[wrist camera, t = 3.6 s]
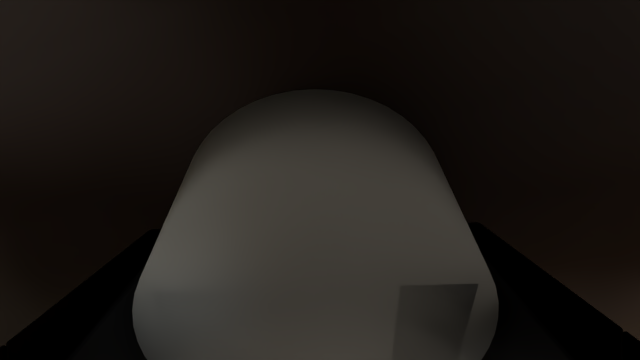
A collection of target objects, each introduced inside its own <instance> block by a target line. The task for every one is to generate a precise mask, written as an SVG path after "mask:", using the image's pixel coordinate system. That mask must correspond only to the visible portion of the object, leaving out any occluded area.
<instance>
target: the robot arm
mask: <svg viewBox="0 0 640 360" xmlns="http://www.w3.org/2000/svg"><path fill="white" fill-rule="evenodd" d="M467 224H468V226H469V228H470V230H471V232H472V235H473V237H474V239H475V241H476V243H477V245H478V247H479V250H480V252H481V254H482V256H483V258H484V260H485V262H486V264H487V267H488V269H489V271H490V273H491V276H492V278H493V281H494V283H495V286H496V291H497V296H498V301H499V309H498V322H497V326H496V331H495V334H494V337H493V339H492V342H491V344H490V346H489V348H488V350H487V352H486V353H485V355H484V356H483V358H482V360H640V341H639V340H637V339H636V338H635V337H633V336H632V335H631V334H629V333H628V332H626V331H625V332H623V329H622V328H621V327H620V326H618V325H617V324H616V323H614V322H613V321H612V320H610V319H609V318H608V317H606V316H605V315H603V314H602V313H601V312H599V311H598V310H597V309H595V308H594V307H593V306H591V305H590V304H589V303H587V302H586V301H585V300H583V299H582V298H580V297H579V296H578V295H576V294H575V293H574V292H572V291H571V290H570V289H568V288H567V287H566V286H564V285H563V284H562V283H560V282H559V281H558V280H556V279H555V278H553V277H552V276H551V275H549V274H548V273H547V272H545V271H544V270H543V269H541V268H540V267H539V266H537V265H536V264H535V263H533V262H532V261H530V260H529V259H528V258H526V257H525V256H524V255H522V254H521V253H520V252H518V251H517V250H516V249H514V248H513V247H512V246H510V245H509V244H507V243H506V242H505V241H503V240H502V239H501V238H499V237H498V236H497V235H495V234H494V233H493V232H491V231H490V230H489V229H487V228H486V227H484V226H483V225H482V224H480V223H477V222H471V223H467ZM160 231H161V229H152V230H149V231H148V232H146V233H145V234H144V235H143V236H141V237H140V238H139V239H138V240H136V241H135V242H134V243H132V244H131V245H130V246H129V247H127V248H126V249H125V250H124V251H122V252H121V253H120V254H119V255H117V256H116V257H115V258H113V259H112V260H111V261H110V262H108V263H107V264H106V265H105V266H103V267H102V268H101V269H99V270H98V271H97V272H96V273H94V274H93V275H92V276H91V277H89V278H88V279H87V280H86V281H84V282H83V283H82V284H80V285H79V286H78V287H77V288H75V289H74V290H73V291H72V292H70V293H69V294H68V295H66V296H65V297H64V298H63V299H61V300H60V301H59V302H58V303H56V304H55V305H54V306H53V307H51V308H50V309H49V310H47V311H46V312H45V313H44V314H42V315H41V316H40V317H39V318H37V319H36V320H35V321H33V322H32V323H31V324H30V325H28V326H27V327H26V328H25V329H23V330H22V331H21V332H19V333H18V334H17V335H16V336H14V337H13V338H12V339H11V340H9V341H8V342H7V344H6V346H2V347H0V360H147V359H146V357H145V356H144V354H143V352H142V350H141V348H140V346H139V344H138V342H137V338H136V334H135V331H134V327H133V315H132V308H133V300H134V293H135V291H136V288H137V285H138V282H139V279H140V277H141V274H142V272H143V270H144V268H145V265H146V263H147V261H148V258H149V256H150V254H151V252H152V249H153V247H154V245H155V243H156V240H157V238H158V236H159V233H160Z"/></svg>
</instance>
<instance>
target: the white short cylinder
mask: <svg viewBox="0 0 640 360" xmlns="http://www.w3.org/2000/svg"><path fill="white" fill-rule="evenodd" d="M498 309H499V301H498V296H497V291H496V286H495V283H494V281H493V278H492V276H491V273H490V271H489V269H488V267H487V264H486V262H485V260H484V258H483V256H482V254H481V252H480V250H479V247H478V245H477V243H476V241H475V239H474V237H473V235H472V232H471V230H470V228H469V226H468V224H467V222H466V220H465V217H464V215H463V213H462V211H461V209H460V207H459V205H458V203H457V200H456V198H455V196H454V194H453V192H452V190H451V188H450V185H449V183H448V181H447V179H446V177H445V175H444V173H443V171H442V168H441V166H440V164H439V162H438V160H437V158H436V156H435V153H434V152H433V150H432V149H431V147H430V145H429V144H428V142H427V141H426V139H425V138H424V137H423V136H422V135H421V133H420V132H419V131H418V130H417V129H416V128H415V127H414V126H413V125H412V124H411V123H410V122H408V121H407V120H406V119H405V118H404V117H403V116H401V115H400V114H398V113H396V112H395V111H393V110H392V109H390V108H388V107H387V106H385V105H382V104H380V103H378V102H376V101H374V100H371V99H369V98H366V97H362V96H359V95H356V94H352V93H347V92H341V91H336V90H322V89H307V90H294V91H288V92H284V93H279V94H274V95H271V96H268V97H265V98H262V99H259V100H256V101H254V102H252V103H250V104H248V105H246V106H244V107H242V108H240V109H238V110H237V111H235V112H234V113H232V114H231V115H229V116H228V117H226V118H225V119H223V120H222V121H221V122H220V123H219V124H218V125H217V126H216V127H215V128H214V129H213V130H212V131H211V132H210V133H209V134H208V135H207V137H206V138H205V139H204V140H203V142H202V143H201V144H200V146H199V148H198V149H197V151H196V153H195V155H194V156H193V158H192V161H191V163H190V165H189V167H188V170H187V172H186V174H185V177H184V179H183V181H182V183H181V186H180V188H179V190H178V192H177V195H176V197H175V199H174V202H173V204H172V206H171V208H170V211H169V213H168V215H167V217H166V220H165V222H164V224H163V227H162V229H161V231H160V233H159V236H158V238H157V240H156V243H155V245H154V247H153V249H152V252H151V254H150V256H149V258H148V261H147V263H146V265H145V268H144V270H143V272H142V274H141V277H140V279H139V282H138V285H137V288H136V291H135V293H134V300H133V308H132V315H133V327H134V331H135V334H136V338H137V342H138V344H139V346H140V348H141V350H142V352H143V354H144V356H145V357H146V359H147V360H482V358H483V356H484V355H485V353H486V352H487V350H488V348H489V346H490V344H491V342H492V339H493V337H494V334H495V331H496V326H497V322H498Z"/></svg>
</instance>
